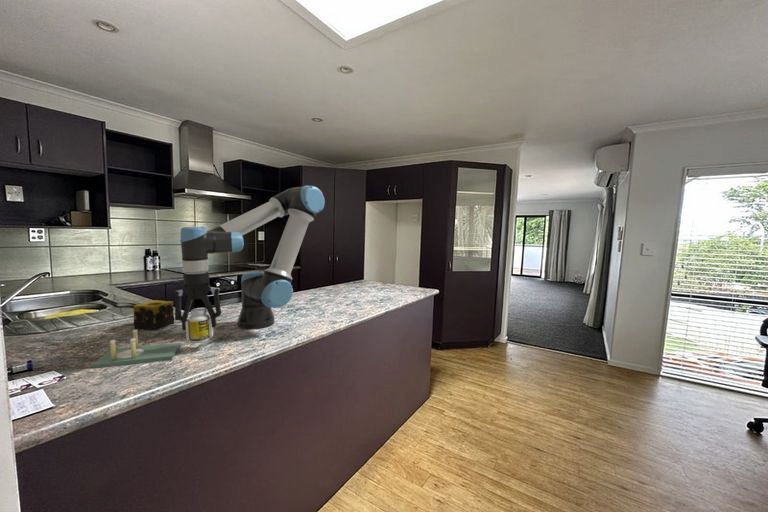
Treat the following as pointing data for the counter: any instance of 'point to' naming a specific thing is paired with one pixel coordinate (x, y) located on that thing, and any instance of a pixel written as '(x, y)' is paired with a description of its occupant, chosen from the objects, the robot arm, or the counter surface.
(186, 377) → the counter surface
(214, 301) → the robot arm
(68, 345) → the counter surface
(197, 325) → the pill bottle
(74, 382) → the counter surface
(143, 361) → the header board
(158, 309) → the yellow-topped dark cube
